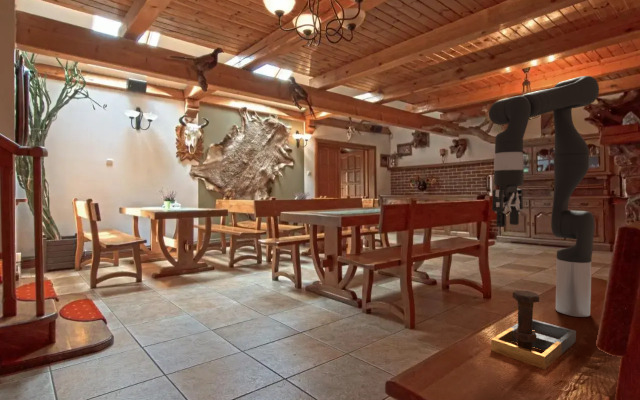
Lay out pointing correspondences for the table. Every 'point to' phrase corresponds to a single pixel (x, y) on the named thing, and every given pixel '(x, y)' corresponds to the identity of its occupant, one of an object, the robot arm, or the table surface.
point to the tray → (536, 344)
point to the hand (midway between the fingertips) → (507, 225)
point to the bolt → (525, 318)
